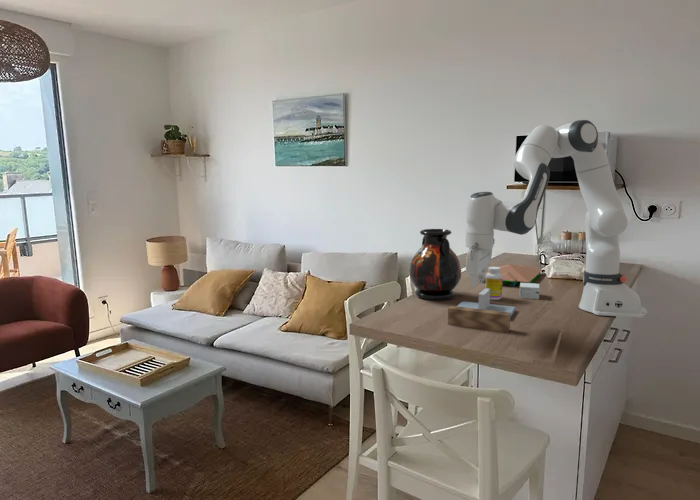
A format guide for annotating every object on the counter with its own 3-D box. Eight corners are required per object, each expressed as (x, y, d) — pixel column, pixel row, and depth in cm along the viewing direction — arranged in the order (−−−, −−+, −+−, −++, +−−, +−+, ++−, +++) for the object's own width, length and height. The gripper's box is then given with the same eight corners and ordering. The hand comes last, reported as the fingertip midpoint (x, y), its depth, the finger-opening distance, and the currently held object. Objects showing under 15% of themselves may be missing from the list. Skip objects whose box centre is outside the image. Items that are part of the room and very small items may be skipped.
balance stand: (515, 310, 183) (515, 289, 182) (508, 320, 171) (509, 298, 170) (462, 304, 193) (462, 285, 191) (452, 314, 180) (452, 293, 179)
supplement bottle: (502, 300, 198) (503, 269, 196) (485, 300, 199) (486, 269, 197) (501, 296, 204) (501, 266, 202) (484, 296, 205) (485, 266, 203)
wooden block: (509, 330, 162) (510, 312, 161) (507, 333, 159) (508, 315, 158) (450, 322, 172) (451, 305, 171) (447, 325, 169) (448, 308, 168)
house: (475, 285, 227) (476, 268, 225) (495, 272, 254) (496, 257, 253) (527, 290, 215) (528, 272, 213) (542, 276, 242) (542, 260, 241)
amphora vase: (400, 293, 213) (400, 229, 208) (442, 288, 221) (443, 226, 216) (425, 305, 193) (426, 234, 189) (471, 299, 201) (473, 231, 196)
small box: (518, 298, 201) (519, 286, 201) (519, 293, 209) (520, 282, 208) (539, 299, 199) (539, 287, 198) (539, 295, 206) (540, 283, 205)
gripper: (481, 246, 150) (480, 290, 153) (495, 238, 168) (493, 277, 170) (461, 245, 153) (460, 288, 155) (477, 237, 171) (475, 276, 173)
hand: (477, 282), depth 163 cm, fingers open, 8 cm apart
